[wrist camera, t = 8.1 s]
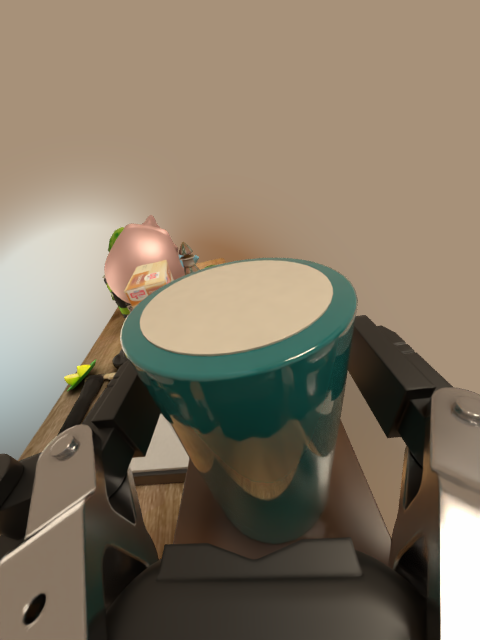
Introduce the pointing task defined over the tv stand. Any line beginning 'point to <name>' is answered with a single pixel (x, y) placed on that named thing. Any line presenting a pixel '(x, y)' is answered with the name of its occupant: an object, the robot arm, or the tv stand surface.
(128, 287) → the coffeecake box
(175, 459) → the scale
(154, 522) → the tv stand surface
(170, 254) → the head sculpture
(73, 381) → the lemon
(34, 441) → the tv stand surface
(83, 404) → the flashlight
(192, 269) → the decorative bottle
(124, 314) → the beverage can
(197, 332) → the cup
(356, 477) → the stand
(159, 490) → the tv stand surface
